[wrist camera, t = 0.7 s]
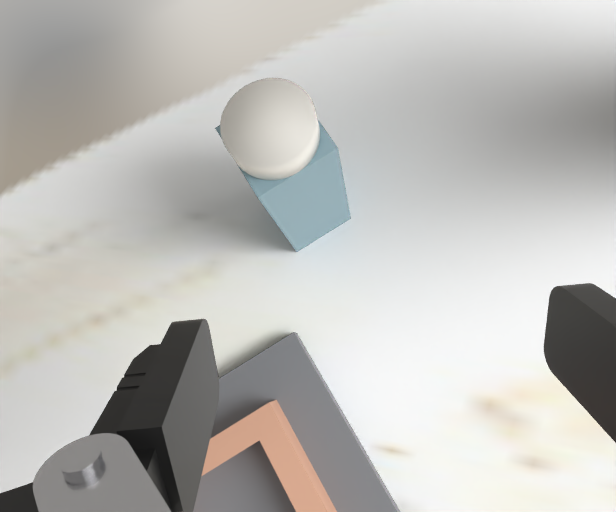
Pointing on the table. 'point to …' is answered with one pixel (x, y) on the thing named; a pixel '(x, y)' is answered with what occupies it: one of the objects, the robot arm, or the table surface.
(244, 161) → the ball-topped blue post
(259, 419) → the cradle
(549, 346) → the robot arm
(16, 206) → the table surface
